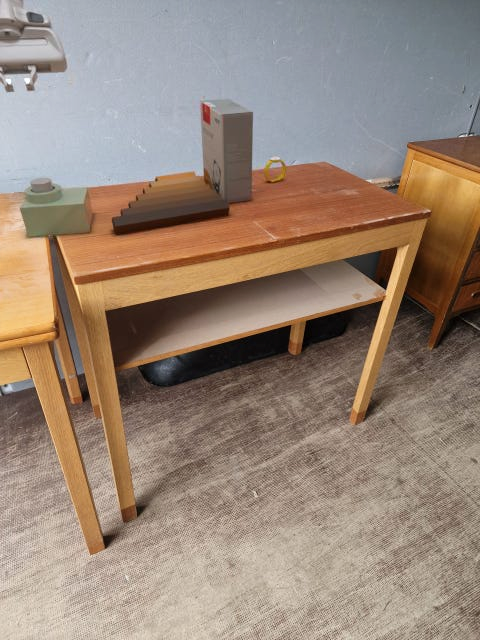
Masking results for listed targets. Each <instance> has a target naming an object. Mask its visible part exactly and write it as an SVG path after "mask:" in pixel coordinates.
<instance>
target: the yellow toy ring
mask: <svg viewBox="0 0 480 640" xmlns="http://www.w3.org/2000/svg"><path fill="white" fill-rule="evenodd" d="M273 163H276V164H277V163H280V164H281V168H282V169H281V173H280V175H279V176H277V177H276V178H272V179H270V177H269V168H270V166H271V165H273ZM286 165H287V164H286V163H285V162H284V160H282V158H281V157H279V156H272V157H269V160H268V161H267V163H265V166H264V169H263V175H264V177H265V179H266V180H267V181H268V182H270V183H275V182H280V181H282V180H283V179H284V177H285V175H286V172H287V166H286Z"/></svg>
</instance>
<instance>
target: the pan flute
mask: <svg viewBox="0 0 480 640" xmlns="http://www.w3.org/2000/svg"><path fill="white" fill-rule="evenodd" d="M127 205H128V207H126V208H121V209H120V215H118V216H112V217H111V222H112V227H113V231H114V233H115V236H117V235H123V234H130V233H135V232H142V231H147V230H152V229H157V228H158V229H159V228H165V227H169V226H176V225H180V224H188V223H193V222H198V221H203V220H204V221H205V220H210V219H215V218H221V217H228V216H229V215H230V208H231V207H230V203H228V202H227V199H224V200H223V199H222V197H221V194H216V191H215V189H211V188H210V185H209V184H207V185H206V184H205V181H204V179H201V177H200V175H196V172H195V171H187V172H181V173H179V172H178V173H172V174H165V175H164V174H163V175H157V176H155V178H154V181H150V182H149V184H148V187H143V189H142V193H138V194H136V196H135V200H130V201H128V204H127Z"/></svg>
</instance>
